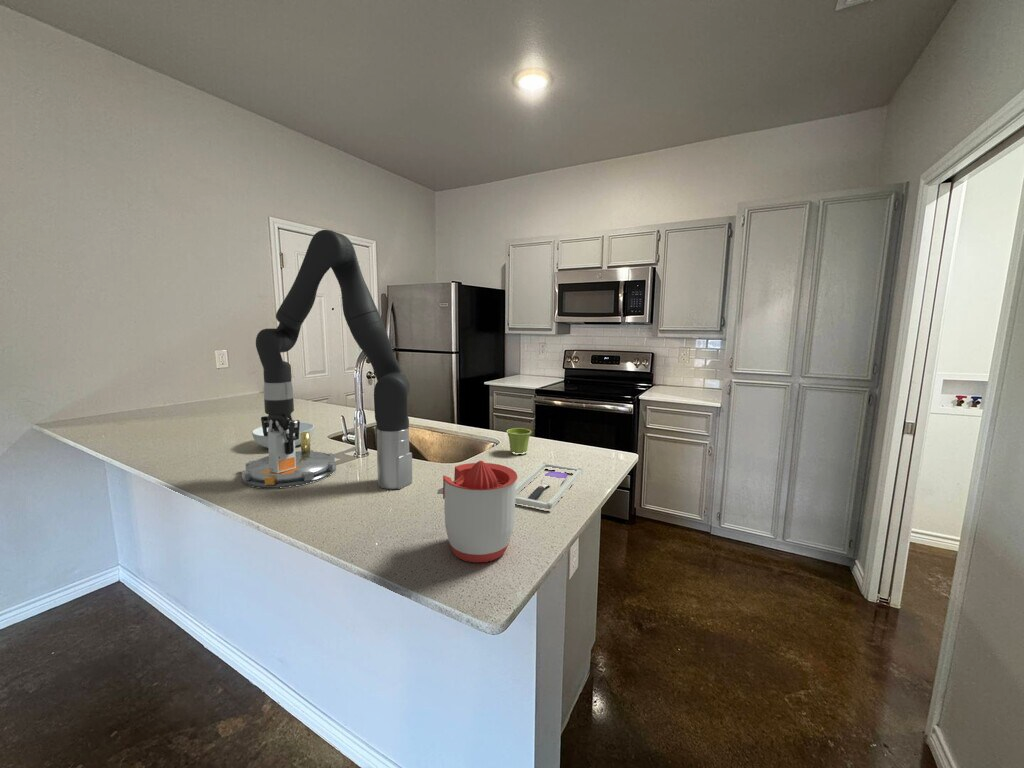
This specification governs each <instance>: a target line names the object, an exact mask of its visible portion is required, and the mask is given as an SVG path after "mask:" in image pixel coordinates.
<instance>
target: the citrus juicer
mask: <svg viewBox="0 0 1024 768" xmlns="http://www.w3.org/2000/svg"><path fill="white" fill-rule="evenodd" d="M453 474H454V475H453V476H454V480H452V477H450V476H448V475H445V474H444V475H443V476H442V481H443V482H442V483H443V484H442V485H443V486H442V487H441V488H439V489H438V490H437V492H436V494H437V495H442V499H443V500H444V512H443V513H444V524H445V531H446V535H447V540H448V543H449V546H450V549H451V550H452V552H453V554H454V556H456V557H457V558H458V559H461V560H463V561H465V562H471V563H489V562H488V561H490V562H492V561H494V560H497V559H498V558H500V557H502V556H503V555H504V554H505V553H506V551H507V548H508V546H509V544H510V541H511V537H512V535H513V531H514V526H515V517H516V516H515V515H516V505H515V494H516V485H517V480H518V474H517V473H516V471H515V470H514V469H513V468H511V467H508V466H506V465H503V464H497V463H489V462H484V461H483V460H479V461H477V462H470V463H464V464H459V465H456V466H454V473H453Z"/></svg>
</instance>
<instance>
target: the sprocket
mask: <svg viewBox="0 0 1024 768" xmlns="http://www.w3.org/2000/svg"><path fill="white" fill-rule="evenodd" d="M300 436H301V444H300V451H295V455H296V468H295V469H291V470H288V471H284V472H280V473H274V472H271V471H269V455H268V456H265V457H262V458H259V459H256V460H249V461H248V462H246V463H245V470H244V471H241V478H242V480H243V479H244V480H245V481H246V480H253V481H256V482H262V483H265V485H275V484H276V483H285V482H294V481H300V480H304V481H307V480H311V479H314V477H315V476H318V475H321V474H323V473H325V472H327V471H333V470H334V469H335V468H336V469H337V463H336V461H335V460H336V459H335V458H336V457H335V454H333V453H332V452H331V453H326V452H321V451H314V450H313V449H311V438H310V432H301V433H300ZM333 461H334V462H333Z"/></svg>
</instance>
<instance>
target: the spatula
mask: <svg viewBox="0 0 1024 768" xmlns="http://www.w3.org/2000/svg"><path fill="white" fill-rule="evenodd" d="M544 476H550V477H556V478H565V479H567V477H568V474H567V473H561V472H555V471H548V472H547V473H546V474H544ZM546 487H549V486H548V485H546V484H541V485H538V486H537V488H535V489H534V490H533V491H532V493H530V495H529V496H527V498H528V499H532V500H536V499H537V498H538V497H539V498H540V496H541V495H542V494H543V492H544V491H545V488H546ZM539 498H538V499H539ZM538 499H537V500H538Z"/></svg>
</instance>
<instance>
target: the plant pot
mask: <svg viewBox="0 0 1024 768" xmlns="http://www.w3.org/2000/svg"><path fill="white" fill-rule="evenodd" d="M506 434H507V436H508V442H509V449H510V451H511V452H515V453H523V452H526V451H527V452H528V447H529V445H528V444H529V442H530V441H529V440H530V436H531V434H532V430H530V429H528V428H523V427H514V428H510V429H507V430H506ZM511 452H510V453H511Z"/></svg>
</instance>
